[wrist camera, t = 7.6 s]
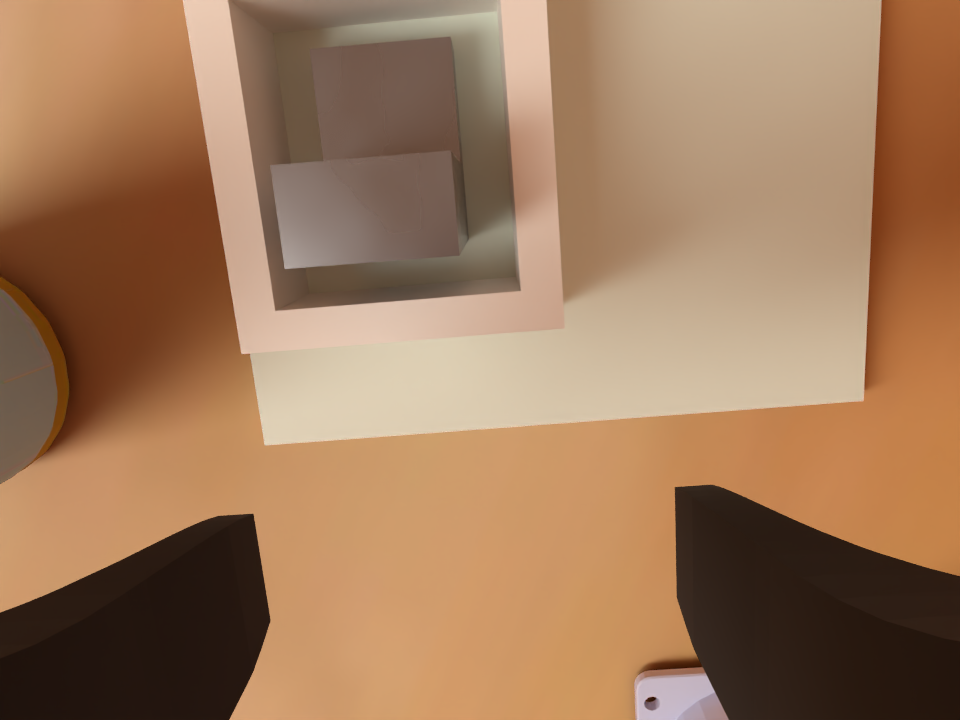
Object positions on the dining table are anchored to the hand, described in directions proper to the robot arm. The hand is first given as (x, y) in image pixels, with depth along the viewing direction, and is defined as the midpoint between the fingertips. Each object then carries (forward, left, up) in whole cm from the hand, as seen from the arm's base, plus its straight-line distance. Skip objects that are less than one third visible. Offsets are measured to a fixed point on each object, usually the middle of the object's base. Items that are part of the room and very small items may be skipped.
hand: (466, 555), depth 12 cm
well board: (+6, -2, -10) cm, 12 cm away
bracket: (+7, +2, -9) cm, 12 cm away
